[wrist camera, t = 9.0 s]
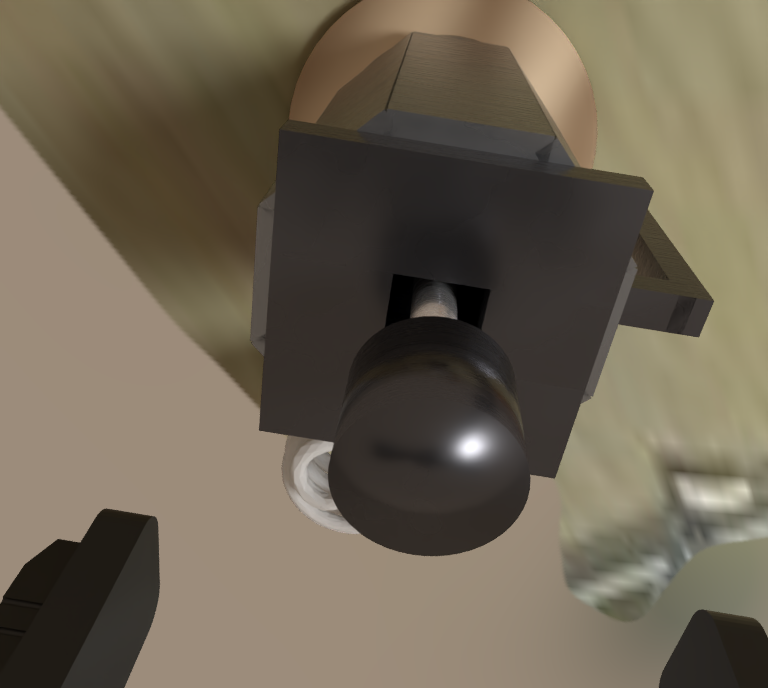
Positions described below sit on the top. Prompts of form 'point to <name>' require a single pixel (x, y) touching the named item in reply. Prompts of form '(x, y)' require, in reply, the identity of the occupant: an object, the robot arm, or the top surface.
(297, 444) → the light bulb
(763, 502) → the top surface
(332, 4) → the top surface
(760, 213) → the top surface
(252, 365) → the top surface
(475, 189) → the carafe
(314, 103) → the disc
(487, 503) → the plunger
